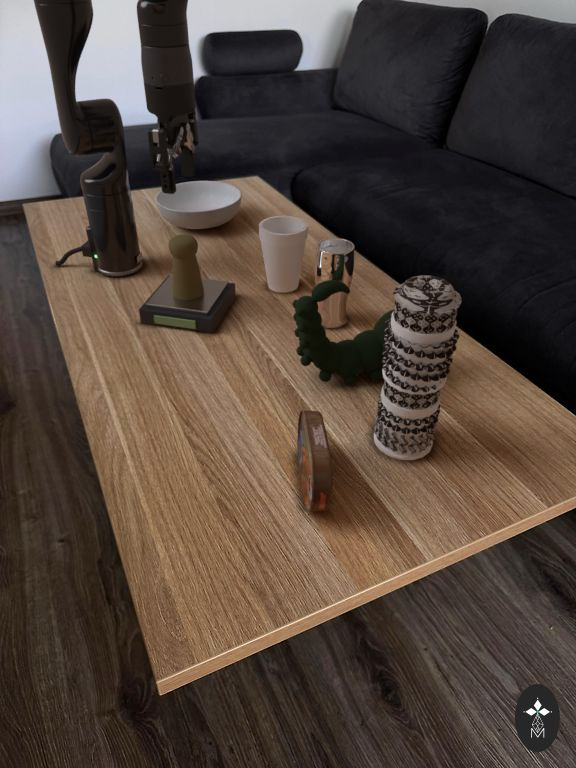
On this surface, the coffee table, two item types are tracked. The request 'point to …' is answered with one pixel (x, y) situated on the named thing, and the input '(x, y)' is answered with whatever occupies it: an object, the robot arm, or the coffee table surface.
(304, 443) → the tin
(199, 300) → the scale platform
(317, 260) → the shiny silver cylinder
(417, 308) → the white patterned cylinder
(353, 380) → the toy figurine
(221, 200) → the serving bowl
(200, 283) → the olive game pawn
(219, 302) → the scale
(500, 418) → the coffee table surface
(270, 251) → the foam cup
